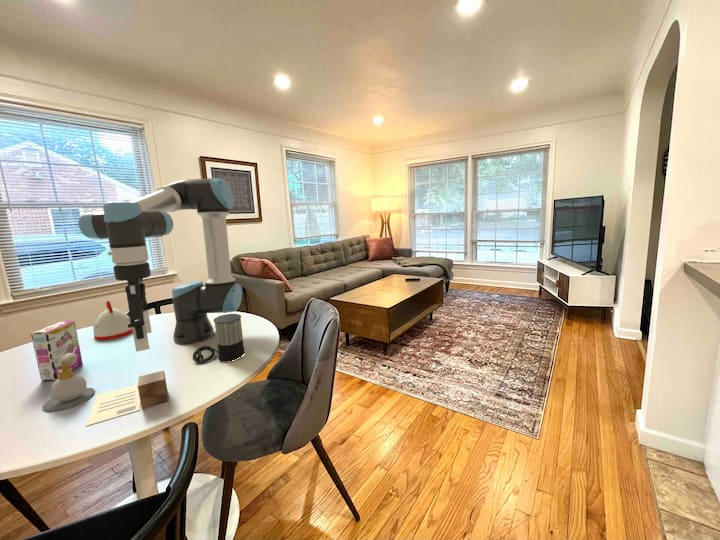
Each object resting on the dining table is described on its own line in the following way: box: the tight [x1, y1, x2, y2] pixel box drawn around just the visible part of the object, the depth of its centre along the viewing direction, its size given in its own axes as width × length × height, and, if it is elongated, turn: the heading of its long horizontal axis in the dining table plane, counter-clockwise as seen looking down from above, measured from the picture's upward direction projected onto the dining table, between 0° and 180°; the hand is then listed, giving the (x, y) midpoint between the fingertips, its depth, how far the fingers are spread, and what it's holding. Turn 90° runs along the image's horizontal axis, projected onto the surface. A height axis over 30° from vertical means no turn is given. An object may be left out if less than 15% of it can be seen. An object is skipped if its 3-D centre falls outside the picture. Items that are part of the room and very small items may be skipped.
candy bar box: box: [30, 320, 83, 382], centre depth 104 cm, size 11×5×16 cm, turn 5°
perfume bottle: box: [50, 353, 88, 402], centre depth 88 cm, size 8×10×12 cm
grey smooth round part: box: [42, 387, 96, 413], centre depth 89 cm, size 11×11×1 cm
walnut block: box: [137, 370, 169, 411], centre depth 87 cm, size 6×6×7 cm
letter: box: [85, 384, 141, 427], centre depth 87 cm, size 11×16×1 cm
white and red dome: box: [92, 300, 133, 341], centre depth 138 cm, size 14×14×15 cm
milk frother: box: [192, 313, 246, 363], centre depth 111 cm, size 14×16×15 cm
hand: (144, 341), depth 84 cm, fingers open, 13 cm apart
